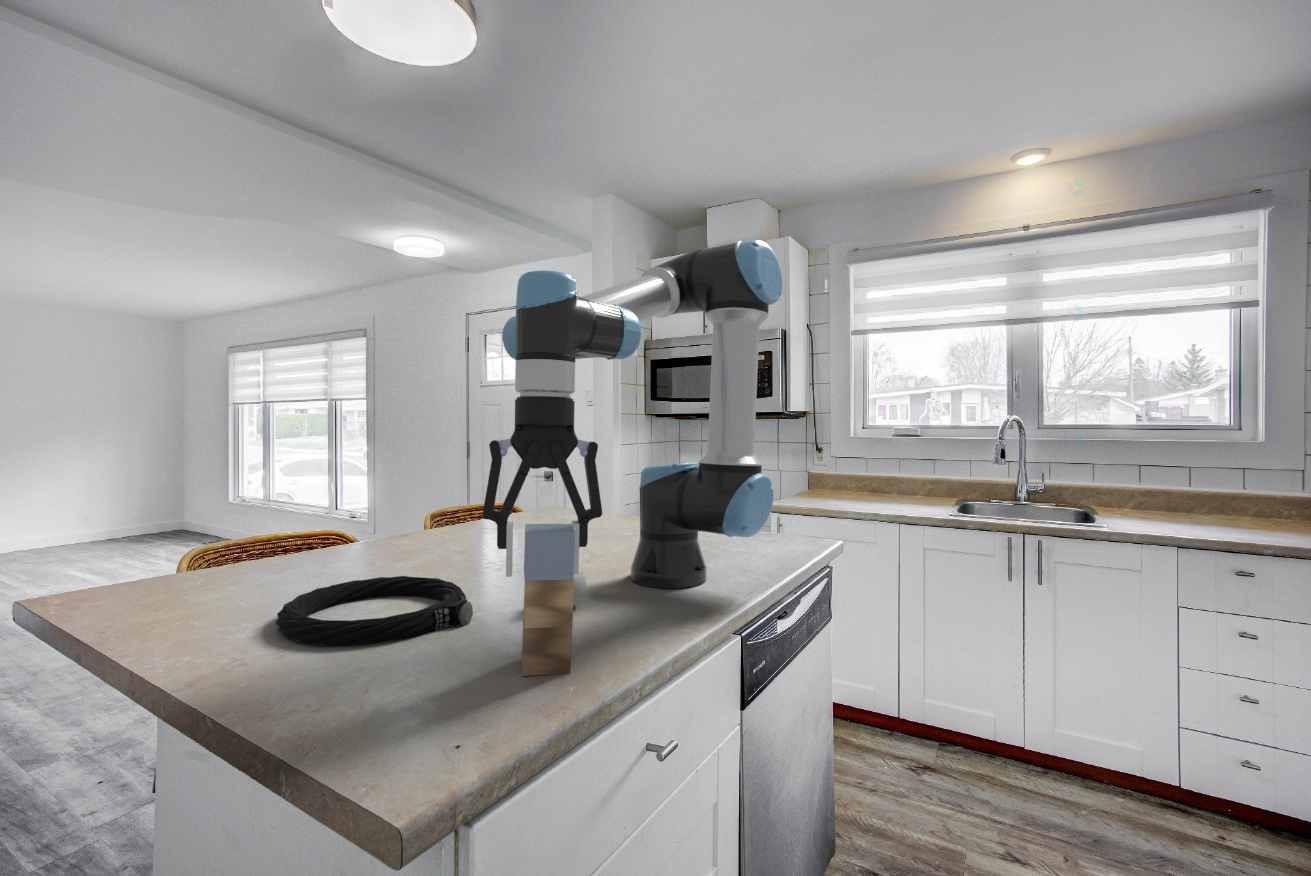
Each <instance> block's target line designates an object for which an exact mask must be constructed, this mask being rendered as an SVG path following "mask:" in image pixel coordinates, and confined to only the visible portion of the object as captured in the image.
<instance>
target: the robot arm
mask: <svg viewBox="0 0 1311 876" xmlns="http://www.w3.org/2000/svg"><path fill="white" fill-rule="evenodd" d="M516 289H517V290H516V302H515V306H514V309H515V315H514V316H512V317H510V318H509V319H508V320H507V321H506V322H505V324H504V326H503V328H502V343H503V347H504V349H505V351H506V353H507V354H508V355H509V357H510V358H512V359H513V360H515V368H514V369H515V370H514V371H515V374H514V375H515V377H514V378H515V379H514V380H515V382H514V385H515V386H514V388H515V389H514V390H515V391H516V392H517V393H519V396H517V397H516V399H514V429H513V432H512V435H511V437H510V438H504V439H500V440H499V439H498V440H497V439H493V440H492V441H490V443H489V444H488V445H489V452H490V456H491V457H490V458H491V463H490V469H489V475H488V481H487V485H486V486H487V487H486V490H485V491H486V492H485V498H484V504H483V510H482V518H483V519H485V520H489V521H492V522H494V523H495V524H496V527H497V528H496V529H497V530H496V532H497V533H496V546H497V549H498V550H506V553H505V554H506V556H505V557H506V558H505V577H506V578H507V577H509V578H510V577H513V551H514V549H513V547H514V546H513V545H514V537H513V536H514V521H511V520H510V521H509V520H508V519H509V518H510V515H511V513H512V511H513V508H514V505H515V503H516V501H517V499H518V497H519V495H520V492H521V491H522V487H523V485H524V483H525V481H526V479H527V476H528V474H529V473H530V470H531V469H533V470H535V469H542V468H547V469H551V470H553V469H554V470H557V469H558V472H559V475H560V477H561V479H562V482H563V485H564V486H565V487H564V488H565V489H566V492H567V493H568V494H567V495H568V497H569V499H570V502H571V504H572V507H573V509H574V512H575V515H576V516H577V520H576V519H575V520H571V525H572V528H573V530H574V532H575V542H574V573H573V574H579V568H580V567H579V566H580V565H579V564H580V562H579V561H580V548H586V547H587V545H588V543H589V542H588V538H589V537H588V536H589V535H588V533H589V531H588V530H589V523H590V521H592V520H594V519H599V518H601V517H602V515H603V507H602V502H601V493H600V492H601V491H600V485H599V478H598V469H597V463H596V458H597V453H598V450H599V449H598V448H599V445H598V443H597V442H595V441H587V440H582V439H579V438H578V437H577V434H576V432H575V407H576V406H575V400H574V398H571V395H572V394H574V393H575V392H576V360H579V359H581V360H582V359H593V358H597V359H598V358H604V359H606V360H624V359H627V358H629V357H631V356H633V354H634V353H635V352H637V349H638V348H639V345H640V342H641V339H642V338H641V337H642V336H641V335H642V326H641V322H643V321H646V320H649V319H651V318H653V317H656V318H661V319H663V318H664V319H665V318H668V317H670V316H672V315H676V314H687V313H699V312H700V313H701V312H705V313H704V314H705V317H706V318H707V320H708V321H709V322H710V323H711V325H712V341H711V342H712V345H711V346H712V347H711V365H710V389H709V390H710V391H709V410H708V411H709V412H708V413H709V414H708V432H707V433H708V435H707V452H706V454H705V455H703V456H702V458H700V459H699V460H698V462H697V461H693V462H683V463H682V462H680V463H672V464H662V465H660V464H659V465H651V466H646V467H644V468H643V469H642V471H641V472H640V473H641V474H640V483H639V488H638V489H639V542H638V544H637V548H636V550H635V554H634V557H633V561H632V563H631V566H630V580H632V581H633V582H634V583H636V584H639V585H642V586H646V587H651V588H659V589H680V588H681V589H682V588H687V587H688V588H689V587H694V586H699V585H701V584H704V583H705V582H706V580H707V566H706V562H705V560H704V556H703V553H702V550H701V546H700V543H699V532H702V533H709V534H717V535H725V536H726V537H728V538H732V537H737V538H738V537H739V538H750V537H753V536H755V535H757V534H758V533H760V531H761V530H762V529H763V528H764V526H765V524H766V523H767V521H768V520H769V518H770V515H771V511H772V507H773V504H774V503H773V502H774V488H773V486H772V485H773V482H772V480H771V478H769V477H768V476H767V475H766V474H763V473H762V472H763V471H762V468H763V467H762V466H763V464H762V462H761V461H760V460H759V459H758V458H757V456H755V442H756V441H755V440H756V437H755V436H756V414H757V413H756V412H757V394H758V393H757V392H758V391H757V390H758V369H759V368H758V367H759V366H758V365H759V348H760V347H759V344H760V327H761V325H762V324H763V323H764V322H765V321H766V320H767V319H768V318H769V306H770V305H771V306H772V305H774V304H775V303H777V302H778V301H779V300H780V298H781V297H780V296H781V294H782V293H783V275H782V271H781V266H780V263H779V261H778V258H777V256H776V254H775V252H774V250H773V249H772V248H771V247H770V246H769V244H767V243H766V242H764V241H763V240H761V239H760V240H759V239H752V240H738V241H737V242H733V243H728V244H724V245H719V246H713V247H707V248H704V249H697V250H693V251H689V252H686V253H683V254H682V255H680V256H677V257H674V258H672V259H669V260H667V261H666V262H663V263H661V264H658V265H656V266H653V267H650V268H647V269H646V270H645V271H644V272H643V273H642V274H641V276H640V277H637V278H635V279H631V280H627V281H625V282H622V283H619V284H616V285H613V286H610V287H606V288H604V289H601V290H600V289H599V290H598V291H594V292H592V293H588V294H585V295H583V296H579V295H578V293H579V291H578V289H577V281H576V278H574V277H573V276H571V275H570V274H569V273H565V272H562V271H555V270H545V269H544V270H532V271H529V272H525V273H523V274H521V276H520V277H519V279H518V282H517V287H516ZM510 447H512V448H513V450H514V451H515V452H516V454H517V456H519V458H520V459H521V462H520V464H519V466H518V469H517V472H516V474H515V475H514V478H513V480H512V483H511V485H510V487H509V489H508V492H507V494H506V497H505V498H504V501H503V503H502V505H501V508H500V509H499V510H497V509H495V504H496V498H497V497H496V496H497V492H498V487H499V480H500V474H501V469H502V464H503V463H502V462H503V457H506V455H508V451H509V448H510ZM576 448H577V449H578V450H579V454H580V455H579V456H581V457H583V458H584V461H583V462H584V470H585V477H586V486H587V491H588V499H589V506H590V507H589V508H588V509H586V507H585V506H584V502H583V500H582V497H581V495H580V493H579V490H578V488H577V485H576V483H575V481H574V478H573V475H572V473H571V470H570V467H569V464H568V463H567V460H568V458H569V457H570V456H571V454H572V453H573V452H574V450H575V449H576Z"/></svg>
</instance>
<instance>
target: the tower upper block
mask: <svg viewBox="0 0 1311 876" xmlns="http://www.w3.org/2000/svg"><path fill="white" fill-rule="evenodd" d="M523 589H524V590H523V591H524V593H523V613H524V628H545V627H572V628H573V627H574V626H573V622H574V621H573V620H574V606H573V601H574V577H573V580H537V581H524V588H523Z"/></svg>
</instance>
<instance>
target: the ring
mask: <svg viewBox="0 0 1311 876" xmlns="http://www.w3.org/2000/svg"><path fill="white" fill-rule="evenodd" d="M398 596H399V597H423V598H427V599H430V600H436V601H437V600H439V601H440V602H437V603H434V604H432V605H430V606H428V607H425V608H422V609H419V610H416V611H411V612H406V613H399V614H396V615H391V616H386V617H378V618H377V617H376V618H365V619H364V618H363V619H353V620H348V619H347V620H346V619H345V620H341V619H339V620H337V619H335V620H332V619H331V620H330V619H329V620H328V619H325V620H324V619H318V618H314V617H308V616H310V615H313V614H315V613H317V612H319V611H320V610H324V609H327V608H331V607H334V606H337V605H340V604H344V603H350V602H355V601H362V600H366V599H373V598H387V597H398ZM473 614H474V609H473V605H472V603H471V601H468V599H467V596H466V594H465V593H464V591H463V590H462V589H461V587H460V586H458V585H457V584H455V583H453V582H452V581H447V580H443V579H441V578H437V577H436V578H434V577H423V576H422V577H421V576H420V577H419V576H416V577H415V576H407V575H398V576H392V577H390V576H388V577H386V576H385V577H383V576H381V577H374V578H368V579H361V580H360V579H358V580H357V579H356V580H355V579H354V580H350V581H347V582H340V583H337V584H336V583H335V584H332V585H329V586H326V587H319V588H315V589H313V590H311V591H309V592H306V593H302V594H299V595H297V596H296V597H295V598H293V599H292V600H291V601H289V602H287V603H284V605H283V607H282V609H280V611H279V612H278V613H277V614H276V615H277V619H276V621H275V623H274V624H275V625H276V626H278V628H277V630H278V631H279V632H280V633H281V634H282V635H284V636H285V637H286V638H287V639H288V640H293V641H297V642H300V643H301V644H305V645H308V646H318V645H319V646H326V647H344V646H345V647H346V646H347V647H348V646H356V645H357V646H363V645H375V644H381V643H387V642H390V641H396V640H397V641H398V640H403V639H408V638H412V637H415V636H420V635H421V634H423V633H427V632H430V631H432V630H433V631H441V630H443V629H446V628H448V626H449V627H453V628H457V627H459V626H463V627H464V626H468V625H469V624H470V622H471V620H472V619H473Z"/></svg>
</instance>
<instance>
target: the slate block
mask: <svg viewBox="0 0 1311 876" xmlns="http://www.w3.org/2000/svg"><path fill="white" fill-rule="evenodd" d="M574 542H575V532H574V530H573V528H572V523H525V526H524V556H523V577H524V578H523V579H524V582H525V581H537V580H573V573H574Z"/></svg>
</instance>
